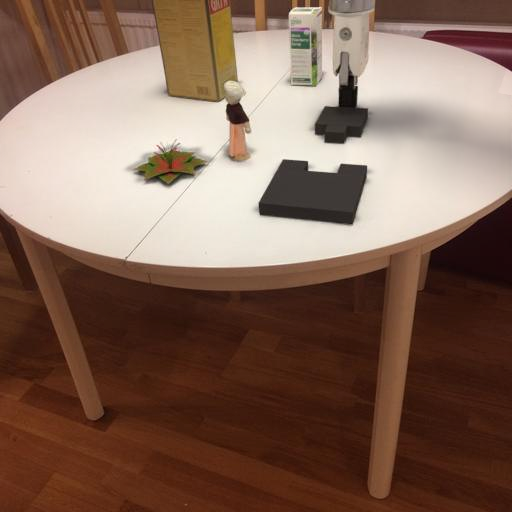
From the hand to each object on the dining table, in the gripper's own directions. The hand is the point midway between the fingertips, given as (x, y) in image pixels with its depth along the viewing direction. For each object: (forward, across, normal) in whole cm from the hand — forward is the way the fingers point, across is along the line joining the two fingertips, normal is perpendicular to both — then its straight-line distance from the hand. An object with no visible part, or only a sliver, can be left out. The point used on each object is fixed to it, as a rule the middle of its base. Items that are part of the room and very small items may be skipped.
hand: (347, 108), depth 97 cm
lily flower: (+2, -26, +24) cm, 35 cm away
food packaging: (+2, +8, +33) cm, 34 cm away
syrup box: (+2, +16, +12) cm, 20 cm away
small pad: (+1, -7, 0) cm, 7 cm away
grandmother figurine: (+2, -20, +14) cm, 24 cm away
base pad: (+1, -29, -1) cm, 29 cm away
